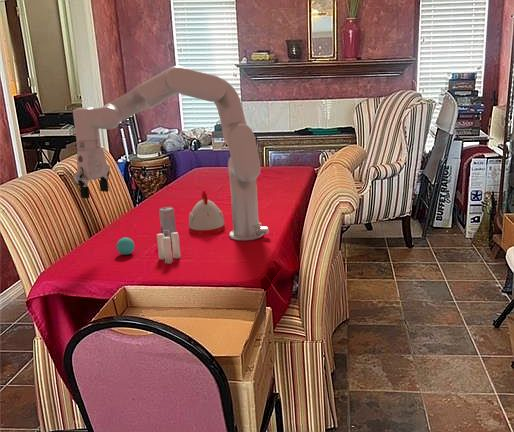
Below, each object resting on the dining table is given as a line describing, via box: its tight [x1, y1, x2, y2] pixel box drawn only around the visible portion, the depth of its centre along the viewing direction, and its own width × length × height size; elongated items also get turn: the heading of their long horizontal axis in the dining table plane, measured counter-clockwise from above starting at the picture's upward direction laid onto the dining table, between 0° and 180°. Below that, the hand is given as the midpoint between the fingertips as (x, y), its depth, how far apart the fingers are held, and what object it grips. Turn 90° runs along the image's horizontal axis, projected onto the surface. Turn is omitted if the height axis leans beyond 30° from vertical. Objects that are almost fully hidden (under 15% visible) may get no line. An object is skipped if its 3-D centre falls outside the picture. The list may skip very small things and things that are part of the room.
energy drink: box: [158, 206, 177, 242], centre depth 205 cm, size 5×5×12 cm
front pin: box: [156, 233, 165, 261], centre depth 186 cm, size 2×2×8 cm
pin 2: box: [171, 231, 181, 259], centre depth 187 cm, size 2×2×8 cm
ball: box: [116, 236, 135, 256], centre depth 193 cm, size 6×6×6 cm
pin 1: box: [163, 237, 174, 265], centre depth 182 cm, size 2×2×8 cm
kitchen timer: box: [188, 190, 226, 235], centre depth 216 cm, size 14×14×15 cm
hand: (95, 194), depth 191 cm, fingers open, 9 cm apart
